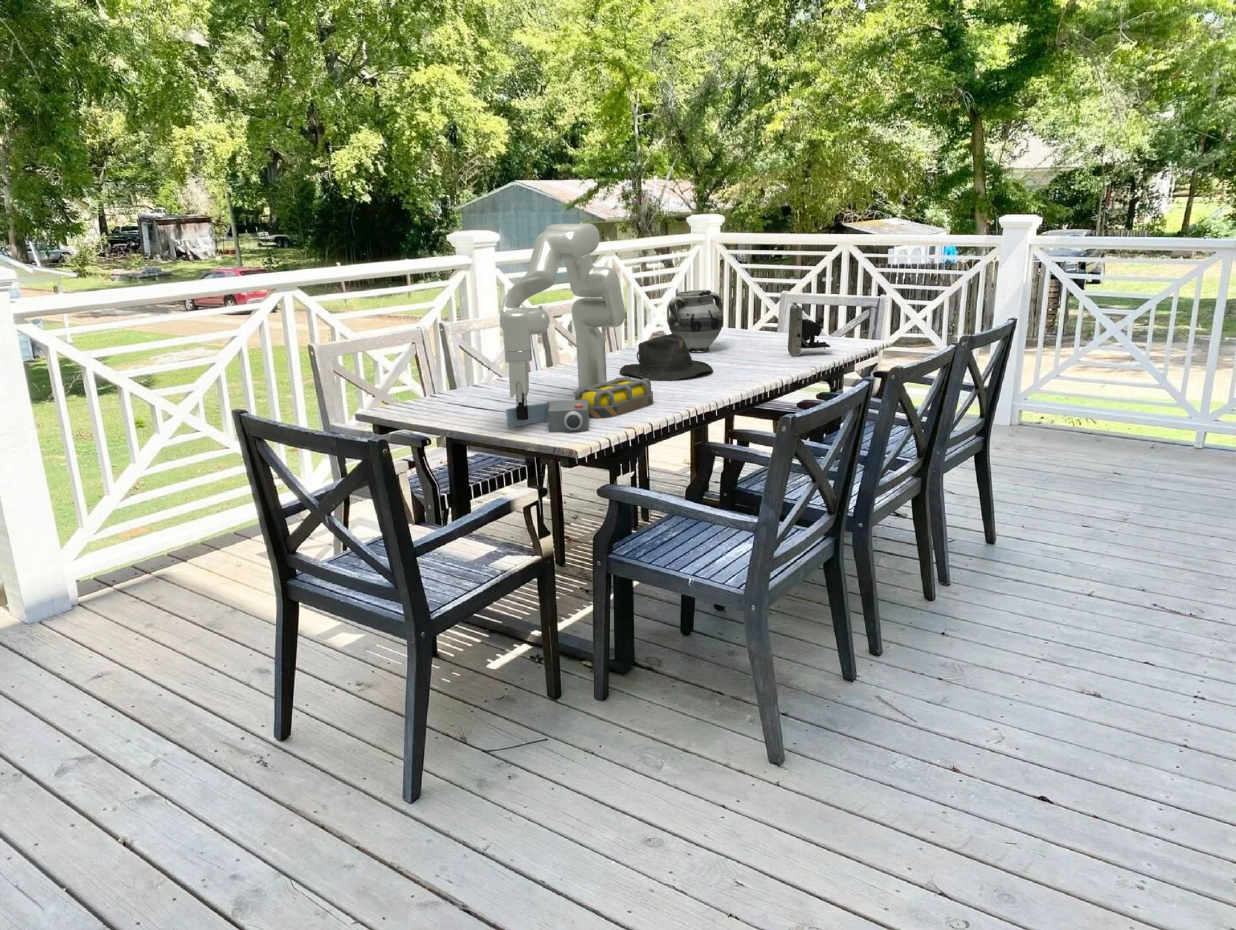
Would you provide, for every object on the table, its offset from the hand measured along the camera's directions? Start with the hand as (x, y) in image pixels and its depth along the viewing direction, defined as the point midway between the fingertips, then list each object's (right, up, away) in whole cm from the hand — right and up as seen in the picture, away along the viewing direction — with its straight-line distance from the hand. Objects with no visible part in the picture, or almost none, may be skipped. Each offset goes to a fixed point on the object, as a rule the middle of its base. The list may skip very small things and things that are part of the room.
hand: (522, 419), depth 266 cm
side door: (+2, -1, +5) cm, 5 cm away
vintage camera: (+103, +31, +102) cm, 149 cm away
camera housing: (+13, -2, +1) cm, 14 cm away
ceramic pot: (+60, +34, +122) cm, 140 cm away
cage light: (+26, +4, +22) cm, 34 cm away
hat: (+45, +21, +77) cm, 92 cm away
